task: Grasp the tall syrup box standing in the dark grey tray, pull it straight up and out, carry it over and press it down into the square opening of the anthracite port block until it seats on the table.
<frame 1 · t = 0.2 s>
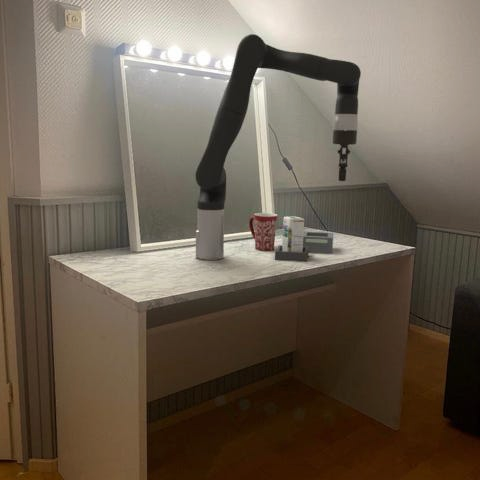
hand: (341, 180, 161), 28 cm above the table, fingers open, 8 cm apart
dark grey tray: (292, 257, 176), on the table
mug: (261, 248, 191), on the table
syrup box: (292, 257, 176), resting in dark grey tray
port: (316, 249, 190), on the table
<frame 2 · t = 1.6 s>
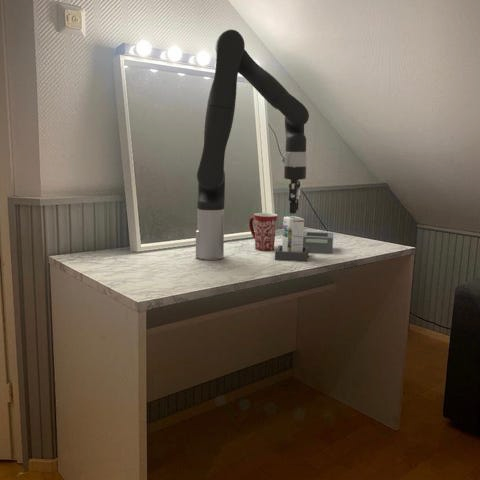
hand: (294, 211, 173), 16 cm above the table, fingers open, 8 cm apart
nothing on the table moved.
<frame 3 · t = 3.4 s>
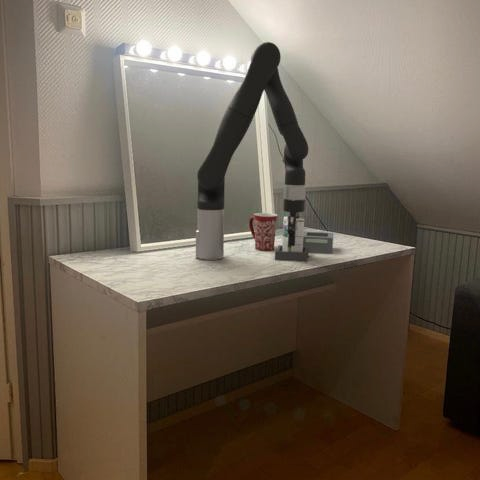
hand: (292, 243, 175), 5 cm above the table, fingers closed on syrup box, 8 cm apart
syrup box: (292, 257, 176), resting in dark grey tray, touching gripper
everything else where it was.
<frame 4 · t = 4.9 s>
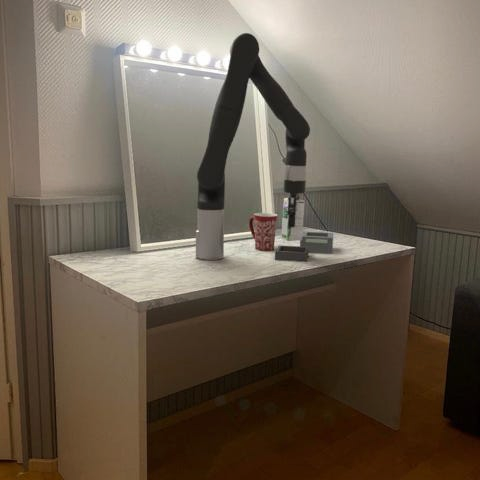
hand: (292, 225, 174), 12 cm above the table, fingers closed on syrup box, 8 cm apart
syrup box: (291, 239, 175), point 6 cm above the table, touching gripper
everything else where it was.
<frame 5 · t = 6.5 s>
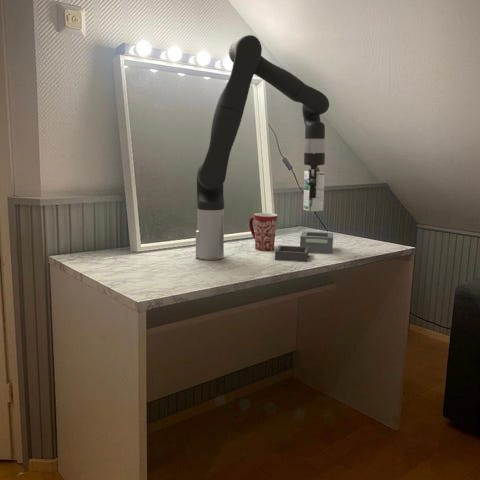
hand: (313, 196, 181), 21 cm above the table, fingers closed on syrup box, 8 cm apart
syrup box: (313, 211, 182), point 16 cm above the table, touching gripper
everything else where it was.
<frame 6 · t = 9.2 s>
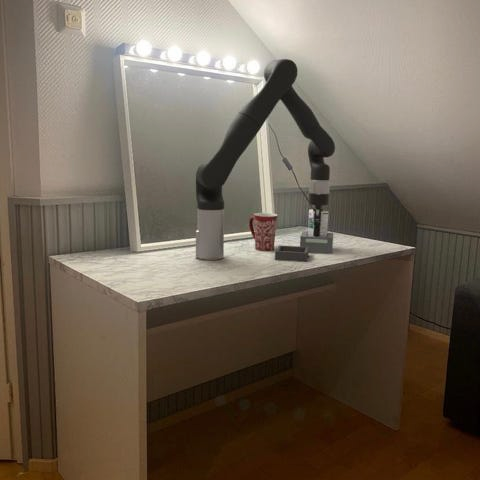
hand: (317, 234, 189), 6 cm above the table, fingers closed on syrup box, 8 cm apart
syrup box: (316, 247, 190), point 1 cm above the table, touching gripper
everything else where it was.
when the fingers open (6 cm above the table, at t = 10.1 s): syrup box moves 1 cm, resting in port.
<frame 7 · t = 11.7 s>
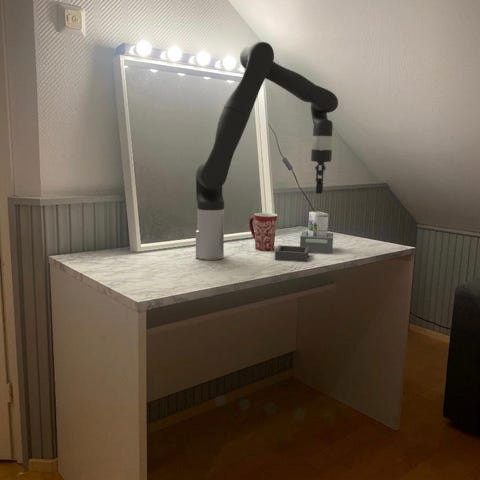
hand: (319, 192, 186), 22 cm above the table, fingers open, 8 cm apart
syrup box: (316, 250, 190), resting in port
everything else where it was.
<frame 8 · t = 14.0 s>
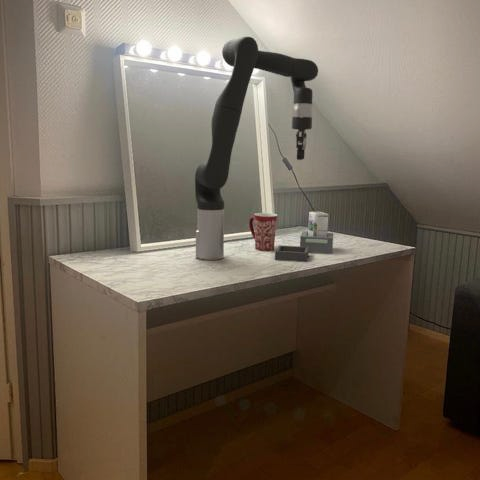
hand: (300, 159, 191), 34 cm above the table, fingers open, 8 cm apart
nothing on the table moved.
at the end: syrup box 0.2 cm off-centre on the port, point 0.0 cm above the port's base; syrup box tilted 0°; the gripper is holding nothing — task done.
